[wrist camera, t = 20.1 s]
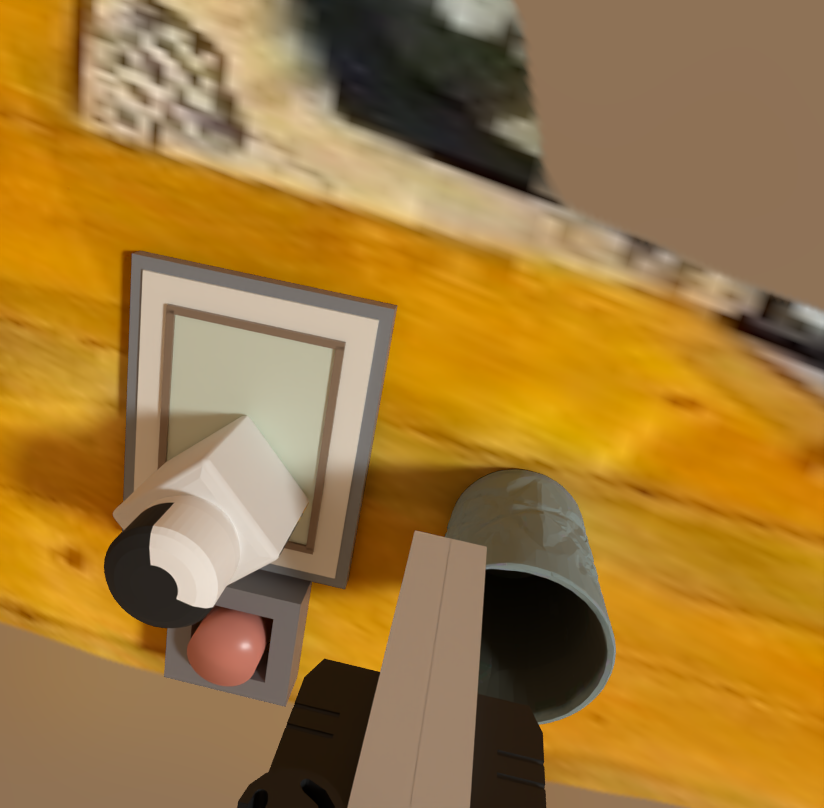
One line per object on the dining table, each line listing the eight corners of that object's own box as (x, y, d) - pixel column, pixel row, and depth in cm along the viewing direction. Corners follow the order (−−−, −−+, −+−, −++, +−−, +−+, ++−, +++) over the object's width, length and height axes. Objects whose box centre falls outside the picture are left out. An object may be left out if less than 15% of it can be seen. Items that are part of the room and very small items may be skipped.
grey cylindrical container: (617, 559, 48) (648, 692, 37) (480, 613, 51) (471, 751, 39) (547, 431, 45) (557, 533, 34) (407, 496, 48) (374, 609, 37)
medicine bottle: (228, 546, 49) (145, 666, 38) (163, 462, 48) (57, 561, 37) (312, 501, 47) (250, 612, 36) (248, 411, 46) (163, 499, 35)
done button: (207, 638, 54) (184, 677, 50) (212, 585, 52) (189, 621, 48) (270, 653, 53) (252, 693, 50) (277, 600, 52) (259, 638, 48)
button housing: (181, 649, 55) (164, 676, 52) (189, 549, 52) (171, 573, 49) (297, 676, 55) (285, 706, 52) (312, 578, 51) (300, 604, 49)
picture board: (129, 529, 52) (118, 540, 50) (140, 250, 44) (127, 254, 43) (348, 580, 51) (343, 593, 50) (397, 305, 43) (393, 311, 42)
